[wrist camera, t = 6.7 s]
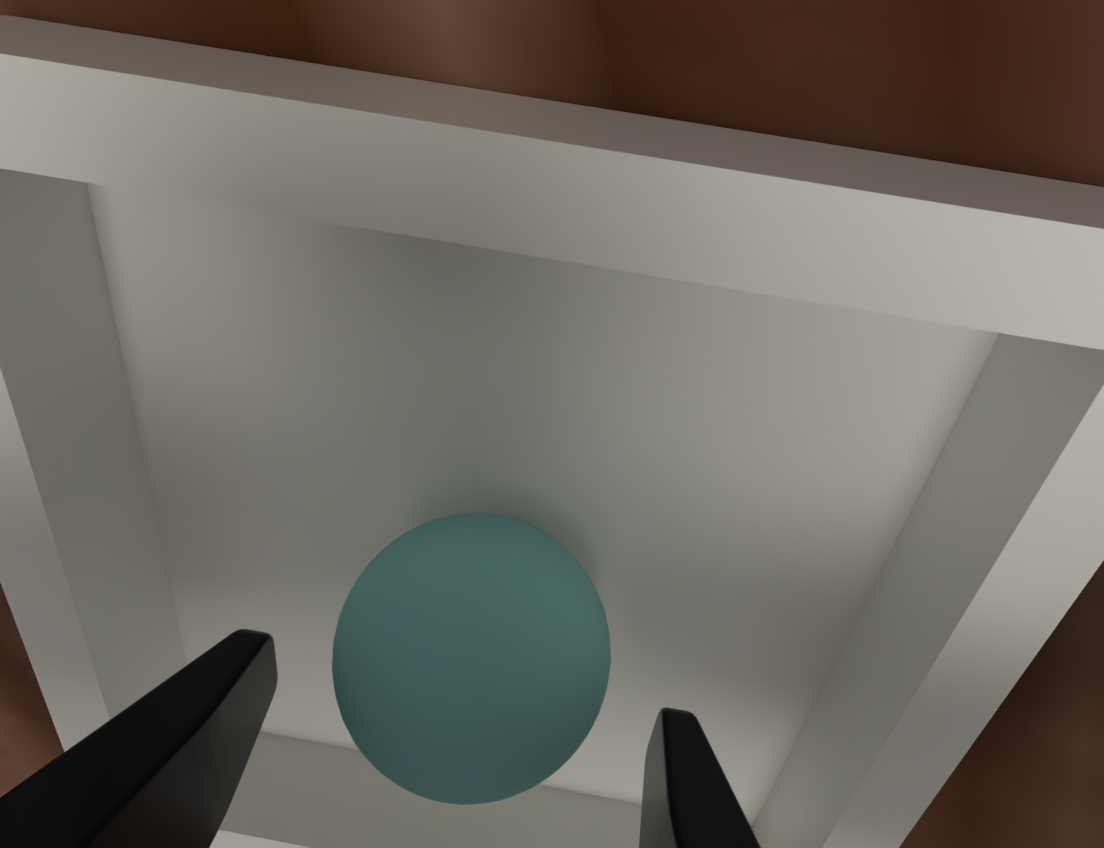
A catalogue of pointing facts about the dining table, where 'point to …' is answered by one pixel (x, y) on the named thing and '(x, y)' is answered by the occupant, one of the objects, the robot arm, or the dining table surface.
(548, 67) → the dining table surface
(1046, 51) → the dining table surface
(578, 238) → the tray
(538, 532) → the ball
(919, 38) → the dining table surface
